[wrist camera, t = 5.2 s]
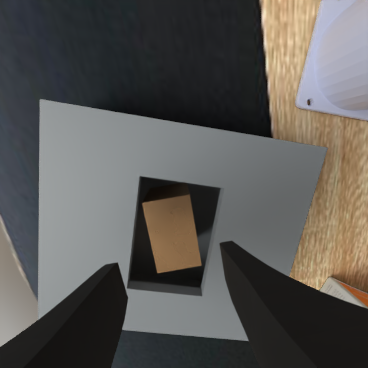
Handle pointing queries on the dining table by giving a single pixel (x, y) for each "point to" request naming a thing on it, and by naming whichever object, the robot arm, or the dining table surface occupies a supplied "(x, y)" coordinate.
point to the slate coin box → (135, 219)
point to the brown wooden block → (171, 227)
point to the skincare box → (345, 292)
